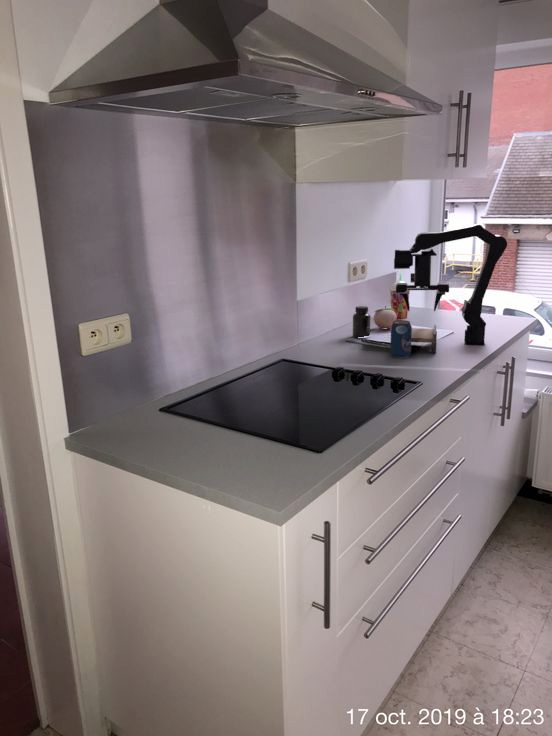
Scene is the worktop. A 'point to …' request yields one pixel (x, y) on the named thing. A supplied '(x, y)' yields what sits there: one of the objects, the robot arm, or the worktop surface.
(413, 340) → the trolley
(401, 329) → the soda can
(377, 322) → the decorative fruit
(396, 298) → the smoothie
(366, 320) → the supplement bottle
